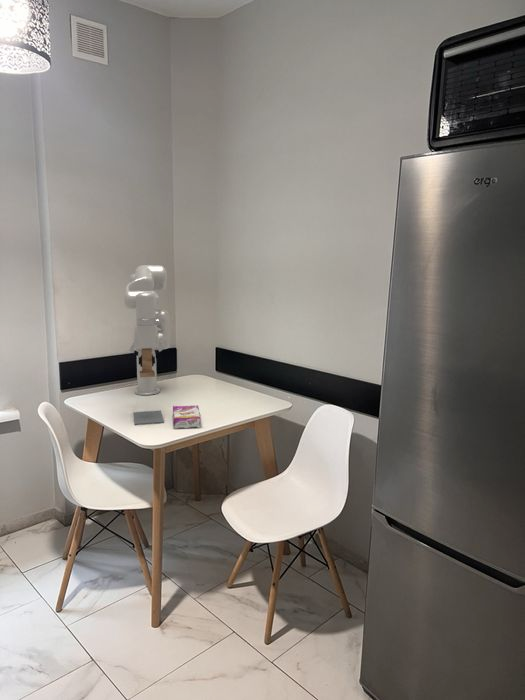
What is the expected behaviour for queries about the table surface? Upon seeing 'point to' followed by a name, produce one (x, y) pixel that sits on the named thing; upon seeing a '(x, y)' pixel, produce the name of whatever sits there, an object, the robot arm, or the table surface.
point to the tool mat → (148, 417)
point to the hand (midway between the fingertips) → (146, 365)
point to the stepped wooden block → (147, 363)
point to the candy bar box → (186, 417)
